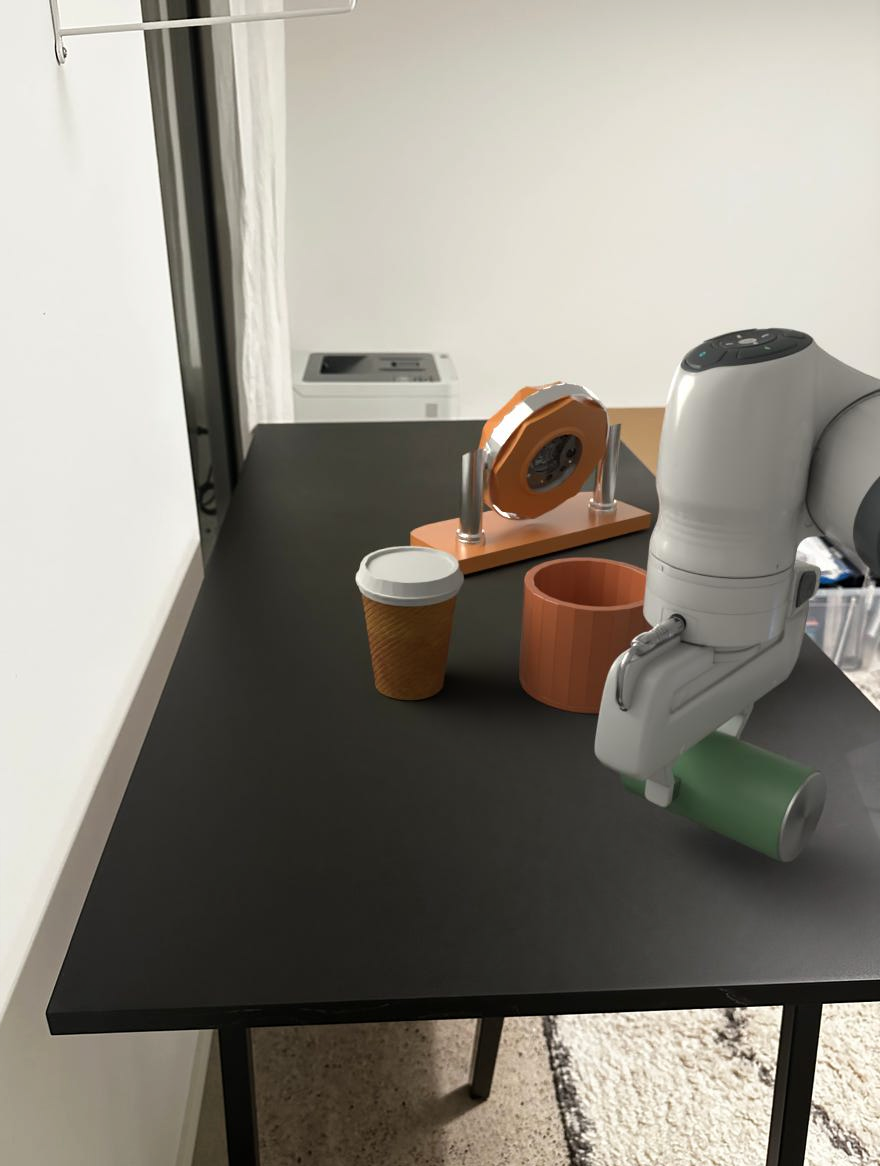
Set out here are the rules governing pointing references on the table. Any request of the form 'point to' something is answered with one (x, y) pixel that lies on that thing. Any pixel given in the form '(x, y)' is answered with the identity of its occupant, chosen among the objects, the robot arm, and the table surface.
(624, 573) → the holder
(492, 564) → the desk clock
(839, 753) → the table surface
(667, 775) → the robot arm
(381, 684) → the disposable coffee cup
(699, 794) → the can
